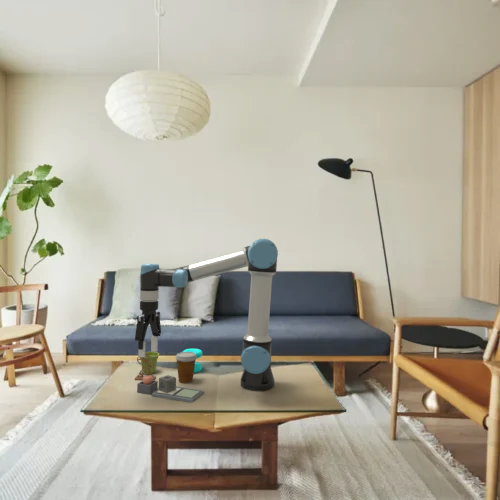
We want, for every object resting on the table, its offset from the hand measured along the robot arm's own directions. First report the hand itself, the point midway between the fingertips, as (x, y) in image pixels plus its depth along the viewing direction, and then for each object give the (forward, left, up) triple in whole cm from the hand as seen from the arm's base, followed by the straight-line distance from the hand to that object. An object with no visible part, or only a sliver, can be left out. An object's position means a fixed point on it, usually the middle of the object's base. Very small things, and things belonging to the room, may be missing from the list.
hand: (148, 354), depth 165 cm
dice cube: (-9, -1, -14) cm, 17 cm away
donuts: (-5, -31, -16) cm, 35 cm away
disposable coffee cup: (-9, -17, -16) cm, 25 cm away
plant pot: (+13, -21, -16) cm, 29 cm away
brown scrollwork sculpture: (+9, -12, -16) cm, 22 cm away
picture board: (-14, -1, -15) cm, 21 cm away
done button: (0, 0, -13) cm, 13 cm away
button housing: (0, 0, -15) cm, 15 cm away
